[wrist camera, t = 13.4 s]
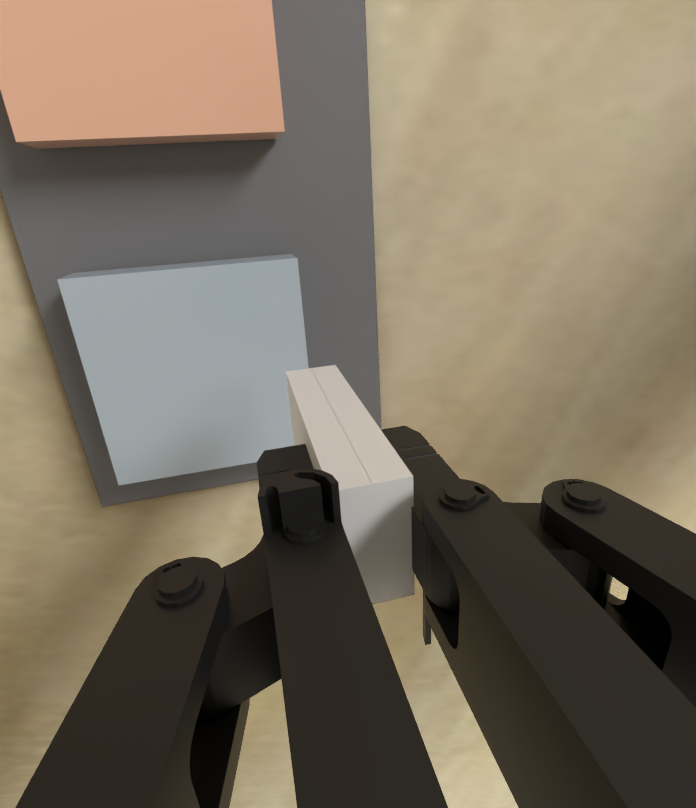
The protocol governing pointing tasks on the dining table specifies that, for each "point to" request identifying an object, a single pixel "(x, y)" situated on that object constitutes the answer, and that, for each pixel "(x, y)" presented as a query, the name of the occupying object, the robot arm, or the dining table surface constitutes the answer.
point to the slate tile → (189, 360)
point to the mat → (219, 218)
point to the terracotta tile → (139, 71)
